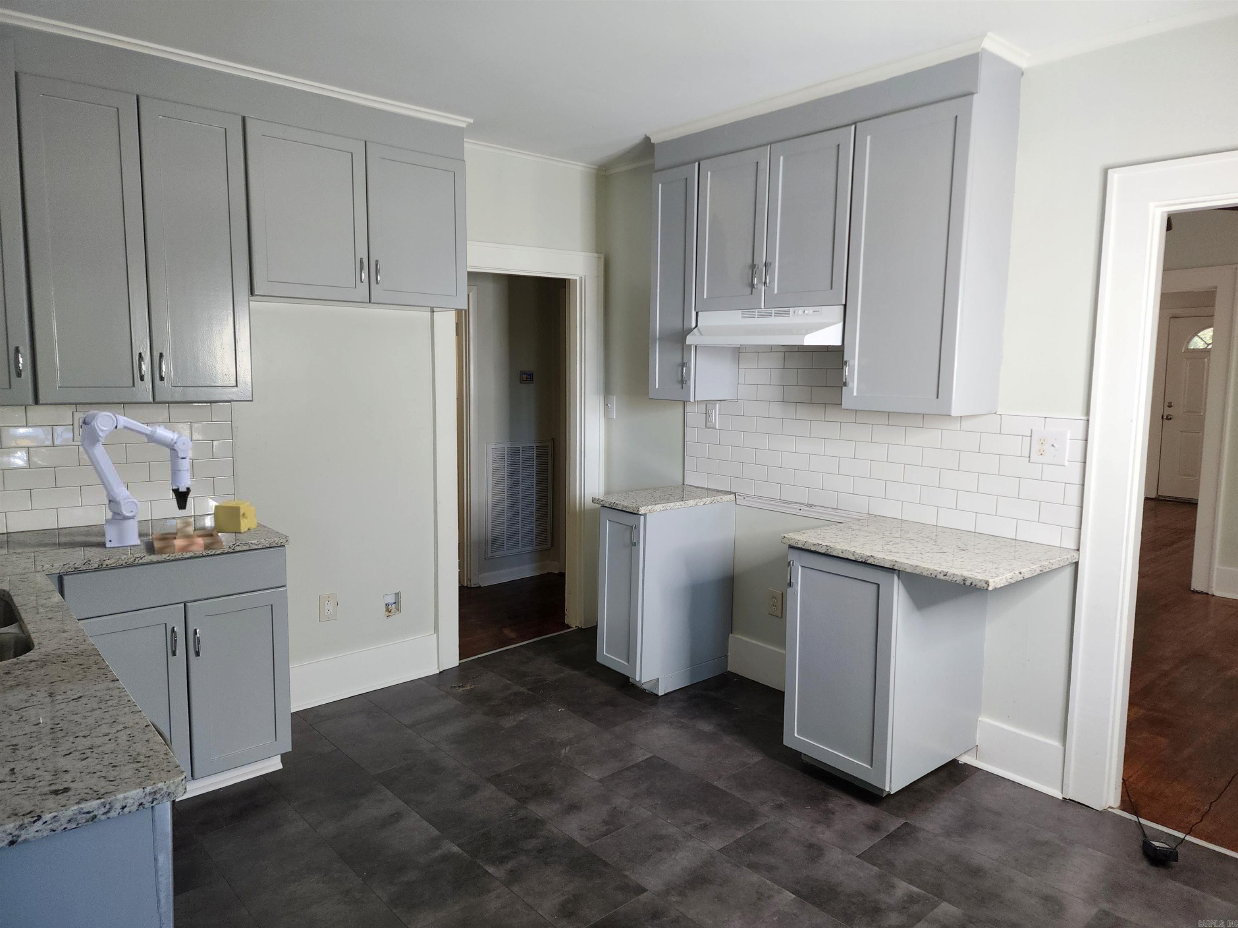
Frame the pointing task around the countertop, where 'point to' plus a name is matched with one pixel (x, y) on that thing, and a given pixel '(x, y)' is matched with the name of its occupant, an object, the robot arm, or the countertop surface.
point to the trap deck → (186, 542)
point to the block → (184, 527)
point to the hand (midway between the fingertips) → (182, 509)
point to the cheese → (234, 516)
